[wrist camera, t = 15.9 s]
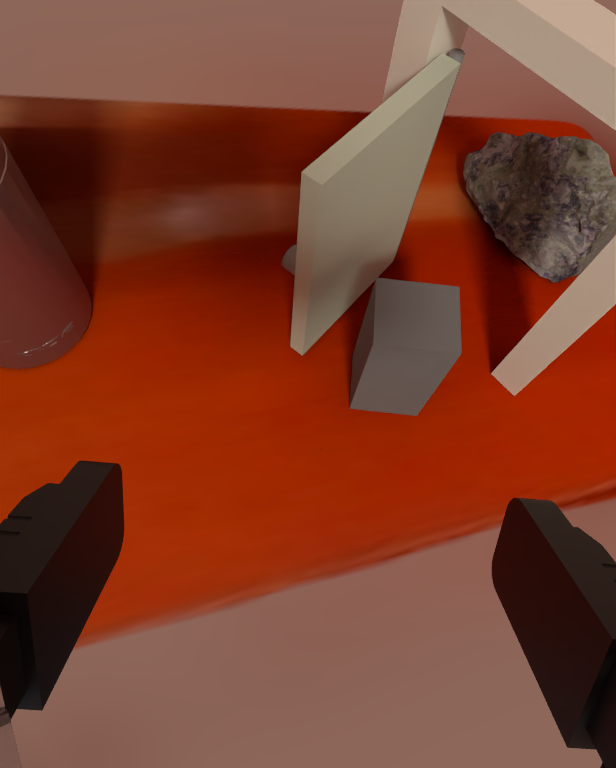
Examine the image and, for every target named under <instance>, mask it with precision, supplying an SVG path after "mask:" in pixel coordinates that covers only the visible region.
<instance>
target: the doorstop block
mask: <svg viewBox="0 0 616 768" xmlns="http://www.w3.org/2000/svg"><path fill="white" fill-rule="evenodd" d="M460 355H461V323H460V293H459V287H455V286H446V285H438V284H429V283H420V282H411V281H402V280H394V279H385V278H376V280H375V283H374V287H373V290H372V293H371V297H370V300H369V303H368V306H367V310H366V313H365V316H364V319H363V323H362V326H361V329H360V333H359V336H358V339H357V342H356V346H355V349H354V352H353V360H352V375H351V391H350V406H349V408H350V409H359V410H368V411H377V412H386V413H395V414H405V415H414V416H417V415H418V413H419V412H420V410H421V409H422V408H423V406H424V405H425V404H426V402H427V401H428V399H429V398H430V397H431V395H432V394H433V392H434V391H435V390H436V388H437V387H438V385H439V384H440V383H441V381H442V380H443V379H444V377H445V376H446V374H447V373H448V372H449V370H450V369H451V367H452V366H453V365H454V363H455V362H456V360H457V359H458V358H459V356H460Z"/></svg>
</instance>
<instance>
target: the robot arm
mask: <svg viewBox="0 0 616 768" xmlns="http://www.w3.org/2000/svg"><path fill="white" fill-rule="evenodd" d="M91 311H92V304H91V298H90V295H89V292H88V290H87V288H86V286H85V284H84V282H83V281H82V279H81V277H80V275H79V274H78V272H77V270H76V268H75V267H74V265H73V263H72V261H71V259H70V257H69V255H68V254H67V252H66V250H65V248H64V247H63V245H62V243H61V241H60V240H59V238H58V236H57V234H56V233H55V231H54V229H53V227H52V226H51V224H50V222H49V220H48V219H47V217H46V215H45V213H44V212H43V210H42V208H41V206H40V205H39V203H38V201H37V199H36V197H35V196H34V194H33V192H32V190H31V189H30V187H29V185H28V183H27V182H26V180H25V178H24V176H23V175H22V173H21V171H20V169H19V168H18V166H17V164H16V162H15V161H14V159H13V157H12V155H11V154H10V152H9V150H8V148H7V147H6V145H5V143H4V141H3V140H2V138H1V136H0V366H1V367H5V368H17V369H21V368H29V367H35V366H39V365H42V364H45V363H48V362H50V361H52V360H54V359H56V358H58V357H60V356H62V355H63V354H64V353H66V352H67V351H68V350H70V349H71V348H72V347H73V346H74V345H75V344H76V343H77V342H78V341H79V340H80V339H81V337H82V335H83V334H84V332H85V331H86V329H87V327H88V324H89V321H90V318H91ZM123 537H124V510H123V485H122V470H121V467H120V465H119V464H116V463H104V462H92V461H79V462H77V464H76V465H75V466H74V467H73V468H72V470H71V471H70V472H69V473H68V474H67V476H66V477H65V478H64V479H63V481H62V482H61V483H60V484H53V483H48V484H46V485H44V486H43V487H41V488H39V489H37V490H36V491H34V492H32V493H31V494H29V495H27V496H26V497H24V498H23V499H22V500H21V501H20V502H19V504H18V505H17V506H16V507H15V508H14V509H13V510H12V511H11V513H10V514H9V515H8V518H7V519H4V520H3V522H2V523H1V524H0V768H22V766H21V762H20V758H19V754H18V750H17V745H16V741H15V737H14V733H13V728H12V725H11V718H12V716H13V715H14V713H15V711H16V709H28V710H43V708H44V705H45V704H46V702H47V700H48V698H49V696H50V694H51V691H52V690H53V688H54V685H55V684H56V682H57V680H58V678H59V676H60V674H61V672H62V670H63V668H64V666H65V664H66V662H67V660H68V658H69V656H70V654H71V652H72V650H73V648H74V646H75V644H76V642H77V640H78V638H79V636H80V634H81V632H82V630H83V628H84V626H85V624H86V622H87V620H88V618H89V616H90V614H91V612H92V610H93V608H94V606H95V604H96V602H97V600H98V598H99V596H100V594H101V592H102V590H103V588H104V586H105V584H106V582H107V580H108V578H109V576H110V574H111V572H112V570H113V568H114V566H115V564H116V562H117V559H118V557H119V554H120V551H121V547H122V543H123ZM492 579H493V584H494V587H495V590H496V592H497V595H498V597H499V599H500V601H501V603H502V606H503V608H504V610H505V612H506V614H507V616H508V619H509V621H510V623H511V625H512V627H513V630H514V632H515V634H516V636H517V638H518V641H519V643H520V645H521V647H522V649H523V652H524V654H525V656H526V658H527V660H528V663H529V665H530V667H531V669H532V671H533V673H534V676H535V678H536V680H537V682H538V684H539V687H540V689H541V691H542V693H543V695H544V697H545V699H546V702H547V704H548V706H549V708H550V711H551V713H552V715H553V717H554V719H555V721H556V724H557V726H558V728H559V730H560V733H561V735H562V737H563V739H564V741H565V743H566V746H567V747H568V748H582V749H596V750H597V752H598V754H599V756H600V757H601V760H602V761H603V762H602V765H601V767H600V768H616V562H615V561H614V560H613V558H612V557H611V556H610V555H609V554H608V552H607V551H606V550H605V549H604V547H603V546H602V545H601V544H600V543H598V542H597V541H596V540H594V539H593V538H592V537H590V536H589V535H588V534H586V533H585V532H584V531H582V530H581V529H580V528H578V527H573V526H572V525H571V524H570V522H569V521H568V520H567V518H566V517H565V516H564V514H563V513H562V512H561V510H560V509H559V508H558V506H557V505H556V504H555V503H554V502H552V501H548V500H536V499H524V498H513V499H512V500H511V501H510V502H509V504H508V506H507V509H506V513H505V516H504V520H503V523H502V527H501V531H500V534H499V538H498V541H497V545H496V548H495V552H494V555H493V560H492Z"/></svg>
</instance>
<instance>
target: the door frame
mask: <svg viewBox="0 0 616 768" xmlns="http://www.w3.org/2000/svg"><path fill="white" fill-rule="evenodd" d="M468 25H469V26H471V27H472V28H474V29H475V30H476V31H478V32H479V33H481V34H482V35H483V36H485V37H486V38H488V39H489V40H490V41H492V42H493V43H495V44H496V45H497V46H499V47H500V48H502V49H503V50H504V51H506V52H507V53H509V54H510V55H511V56H513V57H514V58H515V59H517V60H518V61H520V62H521V63H522V64H524V65H525V66H527V67H528V68H529V69H531V70H532V71H534V72H535V73H536V74H538V75H539V76H541V77H542V78H543V79H545V80H546V81H548V82H549V83H550V84H552V85H553V86H554V87H556V88H557V89H559V90H560V91H561V92H563V93H564V94H566V95H567V96H568V97H570V98H571V99H573V100H574V101H575V102H577V103H578V104H580V105H581V106H582V107H584V108H585V109H587V110H588V111H589V112H591V113H592V114H593V115H595V116H596V117H598V118H599V119H601V120H602V121H603V122H605V123H606V124H608V125H609V126H610V127H612V128H613V129H615V130H616V14H614V13H612V12H611V11H609V10H608V9H606V8H605V7H603V6H601V5H600V4H598V3H597V2H595V1H594V0H404V1H403V5H402V10H401V15H400V19H399V24H398V29H397V34H396V39H395V43H394V48H393V52H392V57H391V62H390V66H389V71H388V76H387V81H386V86H385V90H384V95H383V99H382V103H384V102H385V101H386V100H387V99H388V98H390V97H391V96H392V95H393V94H394V93H395V92H397V91H398V90H399V89H400V88H401V87H403V86H404V85H405V84H406V83H407V82H408V81H410V80H411V79H412V78H413V77H414V76H416V75H417V74H418V73H419V72H420V71H421V70H423V69H424V68H425V67H426V66H427V65H429V64H430V63H431V62H432V61H433V60H435V59H436V58H437V57H438V56H439V55H440V54H442V53H443V54H445V55H447V56H448V57H449V54H450V51H451V49H453V48H459V49H461V46H462V43H463V40H464V37H465V34H466V31H467V27H468ZM615 304H616V235H615V236H614V237H613V239H612V240H611V241H610V242H609V243H608V244H607V245H606V246H605V247H604V249H603V250H602V251H601V252H600V253H599V254H598V255H597V256H596V257H595V259H594V260H593V261H592V262H591V263H590V264H589V265H588V266H587V267H586V269H585V270H584V271H583V272H582V273H581V274H580V275H579V276H578V277H577V279H576V280H575V281H574V282H573V283H572V284H571V285H570V286H569V287H568V289H567V290H566V291H565V292H564V293H563V294H562V295H561V296H560V297H559V299H558V300H557V301H556V302H555V303H554V304H553V305H552V306H551V307H550V309H549V310H548V311H547V312H546V313H545V314H544V315H543V316H542V317H541V319H540V320H539V321H538V322H537V323H536V324H535V325H534V326H533V327H532V328H531V330H530V331H529V332H528V333H527V334H526V335H525V336H524V337H523V338H522V340H521V341H520V342H519V343H518V344H517V345H516V346H515V347H514V348H513V350H512V351H511V352H510V353H509V354H508V355H507V356H506V357H505V358H504V360H503V361H502V362H501V363H500V364H499V365H498V366H497V367H496V368H495V370H494V371H493V372H492V373H491V374H492V375H493V376H494V377H495V378H496V379H497V380H498V381H499V382H500V383H501V384H502V385H503V386H504V387H505V388H506V389H507V390H509V391H510V392H511V393H512V394H513V395H514V396H515V395H516V394H517V393H518V392H519V391H520V390H521V389H523V388H524V387H525V386H526V385H527V384H528V383H529V382H530V381H531V380H533V379H534V378H535V377H536V376H537V375H538V374H539V373H540V372H541V371H543V370H544V369H545V368H546V367H547V366H548V365H549V364H550V363H551V362H552V361H554V360H555V359H556V358H557V357H558V356H559V355H560V354H561V353H562V352H563V351H565V350H566V349H567V348H568V347H569V346H570V345H571V344H572V343H573V342H574V341H576V340H577V339H578V338H579V337H580V336H581V335H582V334H583V333H584V332H585V331H587V330H588V329H589V328H590V327H591V326H592V325H593V324H594V323H595V322H596V321H598V320H599V319H600V318H601V317H602V316H603V315H604V314H605V313H606V312H607V311H609V310H610V309H611V308H612V307H613V306H614V305H615Z"/></svg>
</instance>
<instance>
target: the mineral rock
mask: <svg viewBox="0 0 616 768" xmlns="http://www.w3.org/2000/svg"><path fill="white" fill-rule="evenodd" d="M463 175H464V180H465V182H466V191H467V192H468V194H469V195H470V197H471V199H472V200H473V202H474V203H475V205H476V206H477V207H478V209H479V213H481V214H482V215H483V219H484V220H485V222H486V223H488V224H489V225H490V227H491V228H492V230H493V231H494V233H495V237H496V238H497V239H499V240H501V241H503V242H504V243H505V244H506V246H507V247H508V249H509V250H510V251H511V252H512V253H513V254H514V255H515V256H517V257H518V258H520V259H521V260H523V261H524V262H525V263H526V264H527V265H528V266H529V267H530V268H531V269H533V270H534V271H535V272H536V273H537V274H538V275H539V276H541V277H544V278H547V279H549V280H550V281H551V282H556V283H557V282H559V281H561V280H564V279H566V278H567V277H571V276H576V275H579V274H581V273H582V272H583V271H584V270H585V269H586V267H587V266H588V265H589V264H590V263H591V262H592V261H593V260H594V259H595V257H596V256H597V255H598V254H599V253H600V252H601V251H602V250H603V249H604V247H605V246H606V245H607V244H608V243H609V242H610V241H611V240H612V239H613V237H614V236H615V235H616V177H615V176H614V175H613V173H612V170H611V166H610V163H609V155H608V154H607V153H606V152H605V151H604V150H603V149H602V148H601V147H600V146H599V145H598V144H596V143H595V142H593V141H592V140H588V139H579V138H577V137H576V136H572V137H557V138H552V137H546V136H544V135H542V134H537V133H528V132H527V133H526V134H525V135H523V136H518V137H516V136H514V135H509V134H506V133H500V132H496V133H494V134H491V136H490V138H489V139H488V142H487V144H486V145H485V146H484V147H483V148H482V149H481V150H478V151H474V152H473V153H472V154H471V153H468V155H467V156H466V159H465V163H464V170H463Z"/></svg>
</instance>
